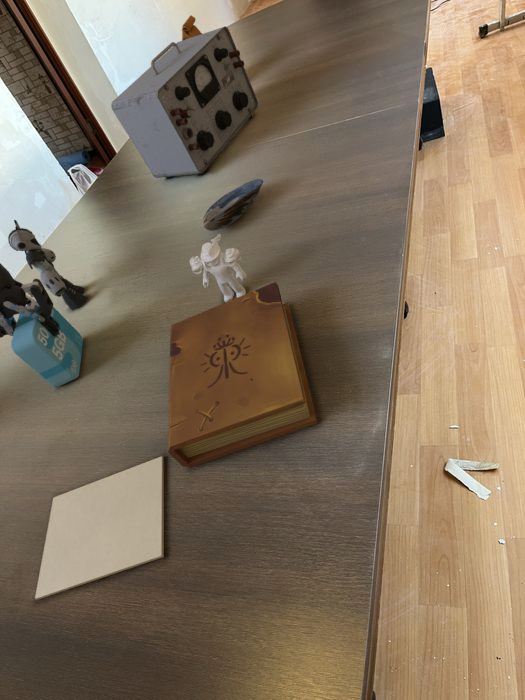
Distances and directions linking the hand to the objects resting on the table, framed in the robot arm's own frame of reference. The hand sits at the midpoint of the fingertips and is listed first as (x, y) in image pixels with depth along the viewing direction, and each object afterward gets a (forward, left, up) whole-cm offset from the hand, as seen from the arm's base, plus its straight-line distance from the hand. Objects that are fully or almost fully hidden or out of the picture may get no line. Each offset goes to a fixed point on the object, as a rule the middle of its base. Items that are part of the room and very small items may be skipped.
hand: (44, 338), depth 87 cm
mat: (+11, -36, -7) cm, 38 cm away
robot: (-2, +21, -8) cm, 22 cm away
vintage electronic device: (+35, +65, -8) cm, 74 cm away
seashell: (+38, +24, -8) cm, 46 cm away
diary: (+33, -21, -8) cm, 40 cm away
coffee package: (+40, +102, -8) cm, 110 cm away
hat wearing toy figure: (+34, -1, -8) cm, 35 cm away
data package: (0, 0, -8) cm, 8 cm away
